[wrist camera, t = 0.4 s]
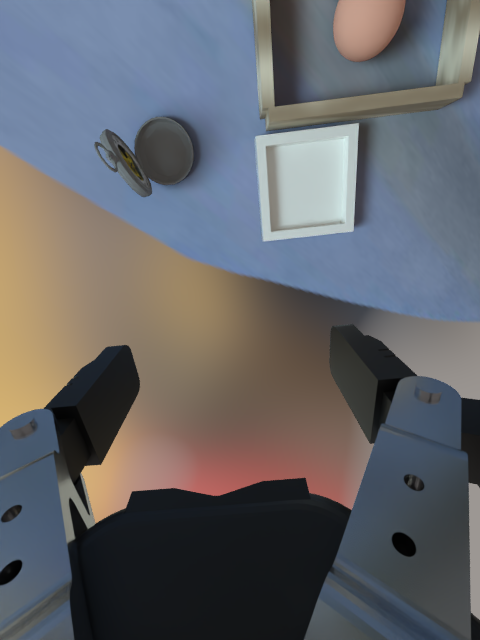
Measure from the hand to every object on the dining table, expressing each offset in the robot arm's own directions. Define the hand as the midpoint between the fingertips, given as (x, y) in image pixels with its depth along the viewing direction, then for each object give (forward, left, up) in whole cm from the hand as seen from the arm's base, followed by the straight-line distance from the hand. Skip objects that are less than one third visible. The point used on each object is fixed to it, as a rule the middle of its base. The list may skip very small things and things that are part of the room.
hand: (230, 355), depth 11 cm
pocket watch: (-12, -8, -27) cm, 31 cm away
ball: (-20, +15, -27) cm, 37 cm away
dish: (-7, +9, -27) cm, 29 cm away
